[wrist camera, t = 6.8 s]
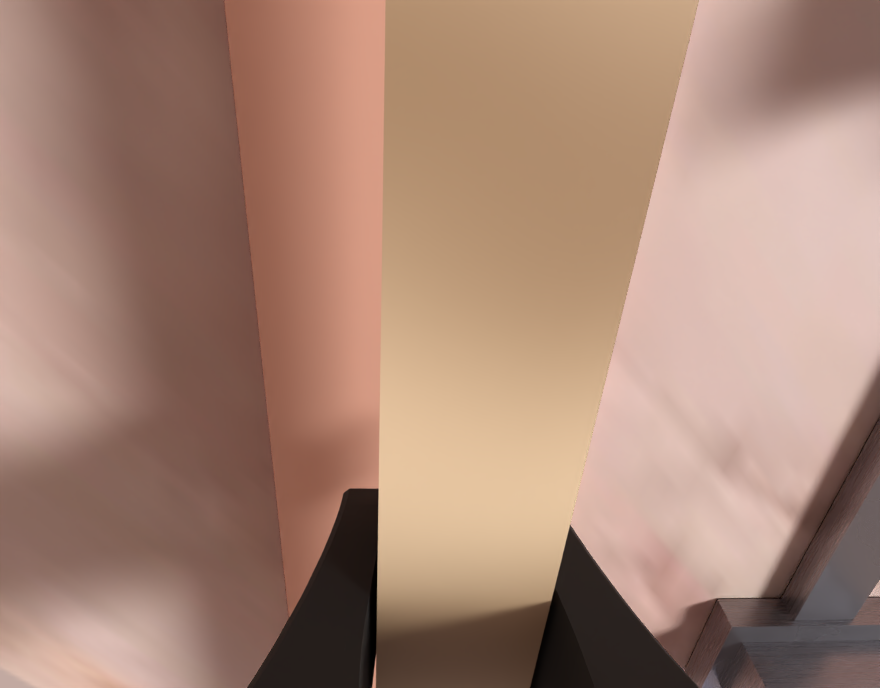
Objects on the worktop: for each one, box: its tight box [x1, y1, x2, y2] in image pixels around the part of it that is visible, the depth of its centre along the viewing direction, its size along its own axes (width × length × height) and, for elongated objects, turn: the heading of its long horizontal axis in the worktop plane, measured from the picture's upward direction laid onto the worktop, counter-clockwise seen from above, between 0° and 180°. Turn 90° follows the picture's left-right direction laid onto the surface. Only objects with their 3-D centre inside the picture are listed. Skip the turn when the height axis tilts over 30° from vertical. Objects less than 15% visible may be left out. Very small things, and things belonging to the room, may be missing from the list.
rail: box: [376, 0, 699, 688], centre depth 10 cm, size 24×2×2 cm, turn 176°
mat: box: [224, 0, 386, 688], centre depth 15 cm, size 24×8×1 cm, turn 176°
